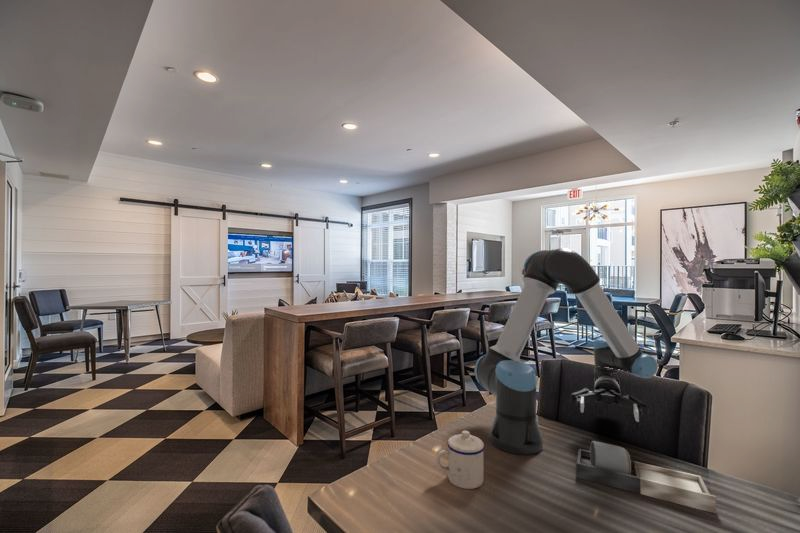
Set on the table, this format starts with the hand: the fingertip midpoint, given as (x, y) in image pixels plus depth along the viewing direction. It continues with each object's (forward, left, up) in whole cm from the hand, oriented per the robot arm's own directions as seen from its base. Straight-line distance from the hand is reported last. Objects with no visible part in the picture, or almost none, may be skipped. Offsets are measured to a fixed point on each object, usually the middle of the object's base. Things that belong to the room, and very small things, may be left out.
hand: (608, 412), depth 100 cm
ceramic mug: (-1, -11, -12) cm, 16 cm away
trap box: (+6, -11, -12) cm, 17 cm away
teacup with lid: (-32, -34, -12) cm, 48 cm away
